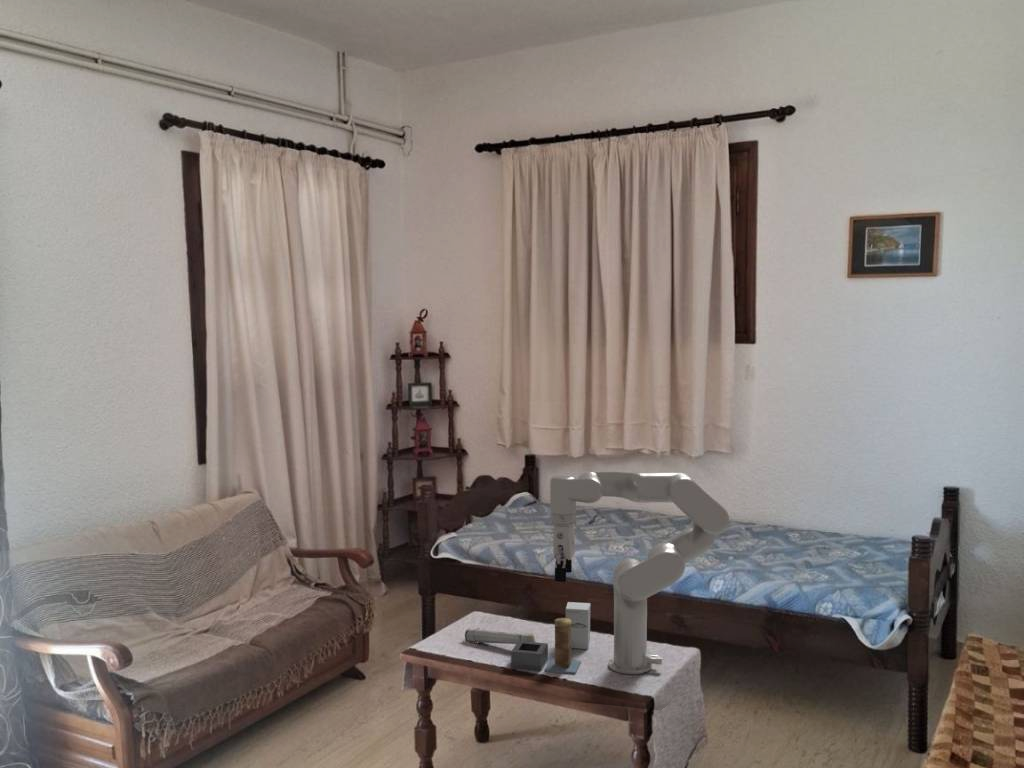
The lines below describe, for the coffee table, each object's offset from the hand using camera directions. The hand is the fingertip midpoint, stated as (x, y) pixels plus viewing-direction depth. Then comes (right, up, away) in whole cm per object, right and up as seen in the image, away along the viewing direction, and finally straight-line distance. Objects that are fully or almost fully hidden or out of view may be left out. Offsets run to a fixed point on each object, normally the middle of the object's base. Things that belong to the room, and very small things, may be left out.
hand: (563, 576), depth 254 cm
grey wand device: (-18, -26, +17) cm, 36 cm away
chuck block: (-10, -27, +3) cm, 28 cm away
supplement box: (+6, -26, +19) cm, 32 cm away
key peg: (0, -26, +1) cm, 26 cm away
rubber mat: (0, -27, +1) cm, 27 cm away
